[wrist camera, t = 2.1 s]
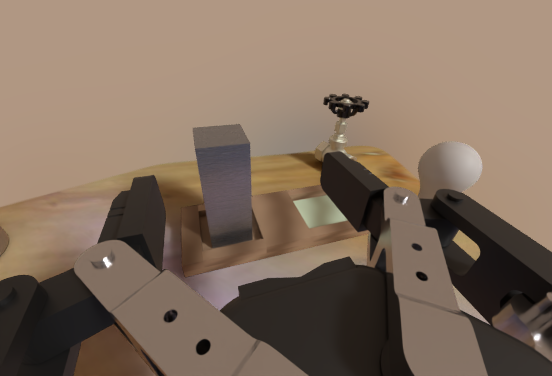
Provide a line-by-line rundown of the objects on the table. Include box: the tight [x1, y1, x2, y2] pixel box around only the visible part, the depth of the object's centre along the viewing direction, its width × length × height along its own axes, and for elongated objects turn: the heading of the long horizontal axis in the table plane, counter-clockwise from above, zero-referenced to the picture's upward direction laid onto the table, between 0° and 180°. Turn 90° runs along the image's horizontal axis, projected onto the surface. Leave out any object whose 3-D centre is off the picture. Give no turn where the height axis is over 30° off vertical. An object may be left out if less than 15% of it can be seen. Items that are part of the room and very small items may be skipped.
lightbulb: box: [418, 142, 482, 199], centre depth 30 cm, size 6×6×11 cm
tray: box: [181, 185, 370, 277], centre depth 30 cm, size 22×9×2 cm, turn 108°
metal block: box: [193, 124, 253, 248], centre depth 25 cm, size 4×4×12 cm
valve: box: [315, 94, 369, 162], centre depth 39 cm, size 7×7×12 cm
